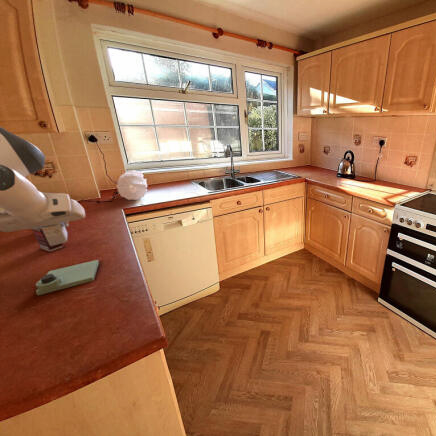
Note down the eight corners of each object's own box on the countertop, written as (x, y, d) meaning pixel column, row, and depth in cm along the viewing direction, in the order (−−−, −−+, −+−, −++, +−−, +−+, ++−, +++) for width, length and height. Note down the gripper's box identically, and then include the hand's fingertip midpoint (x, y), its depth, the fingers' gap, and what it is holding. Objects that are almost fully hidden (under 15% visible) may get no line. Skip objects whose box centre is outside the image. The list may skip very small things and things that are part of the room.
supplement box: (64, 246, 105) (49, 212, 99) (50, 252, 101) (34, 216, 95) (54, 243, 108) (39, 210, 102) (40, 248, 104) (23, 213, 98)
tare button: (41, 285, 75) (39, 280, 75) (44, 280, 78) (42, 275, 77) (54, 282, 77) (51, 277, 76) (56, 277, 79) (54, 272, 78)
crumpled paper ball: (130, 207, 164) (131, 196, 184) (153, 193, 168) (152, 184, 188) (108, 186, 154) (111, 177, 173) (134, 171, 158) (134, 163, 177)
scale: (36, 296, 74) (32, 288, 73) (50, 274, 85) (46, 267, 84) (93, 281, 81) (90, 273, 80) (99, 262, 92) (96, 255, 91)
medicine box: (52, 238, 85) (41, 215, 82) (68, 234, 88) (58, 212, 85) (50, 246, 80) (38, 222, 76) (67, 241, 82) (56, 218, 79)
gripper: (-21, 225, 65) (12, 243, 77) (75, 209, 74) (92, 228, 86) (-21, 205, 67) (11, 225, 79) (73, 192, 76) (89, 212, 88)
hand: (54, 226), depth 82 cm, fingers closed on medicine box, 5 cm apart
